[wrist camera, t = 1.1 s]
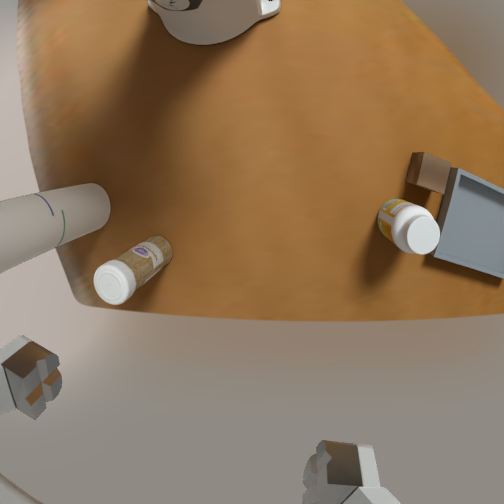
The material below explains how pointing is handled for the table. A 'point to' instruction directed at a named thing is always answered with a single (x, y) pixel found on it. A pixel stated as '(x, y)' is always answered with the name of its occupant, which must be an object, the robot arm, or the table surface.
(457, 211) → the tray
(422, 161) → the walnut block
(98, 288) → the sprinkles bottle
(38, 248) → the cylindrical container
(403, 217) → the supplement bottle
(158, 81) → the table surface
